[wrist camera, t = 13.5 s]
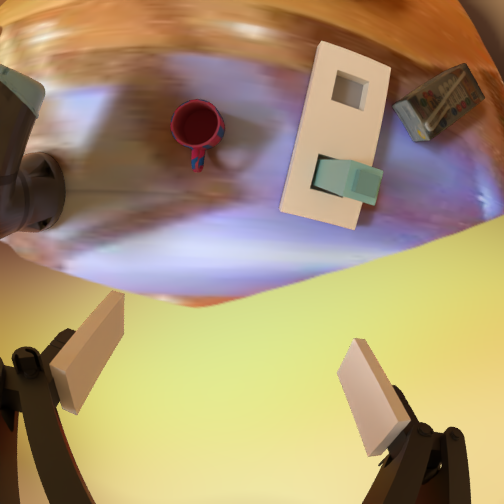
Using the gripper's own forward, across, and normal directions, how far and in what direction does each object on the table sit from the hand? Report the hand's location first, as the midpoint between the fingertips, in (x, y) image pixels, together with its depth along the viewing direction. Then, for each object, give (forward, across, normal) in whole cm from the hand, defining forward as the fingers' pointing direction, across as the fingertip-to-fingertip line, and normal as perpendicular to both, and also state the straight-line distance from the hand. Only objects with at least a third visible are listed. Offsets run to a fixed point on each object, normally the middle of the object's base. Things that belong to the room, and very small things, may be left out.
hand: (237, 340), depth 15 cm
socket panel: (+32, +11, +17) cm, 38 cm away
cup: (+32, -9, +11) cm, 35 cm away
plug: (+31, +11, +10) cm, 34 cm away
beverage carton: (+32, +28, +30) cm, 52 cm away
